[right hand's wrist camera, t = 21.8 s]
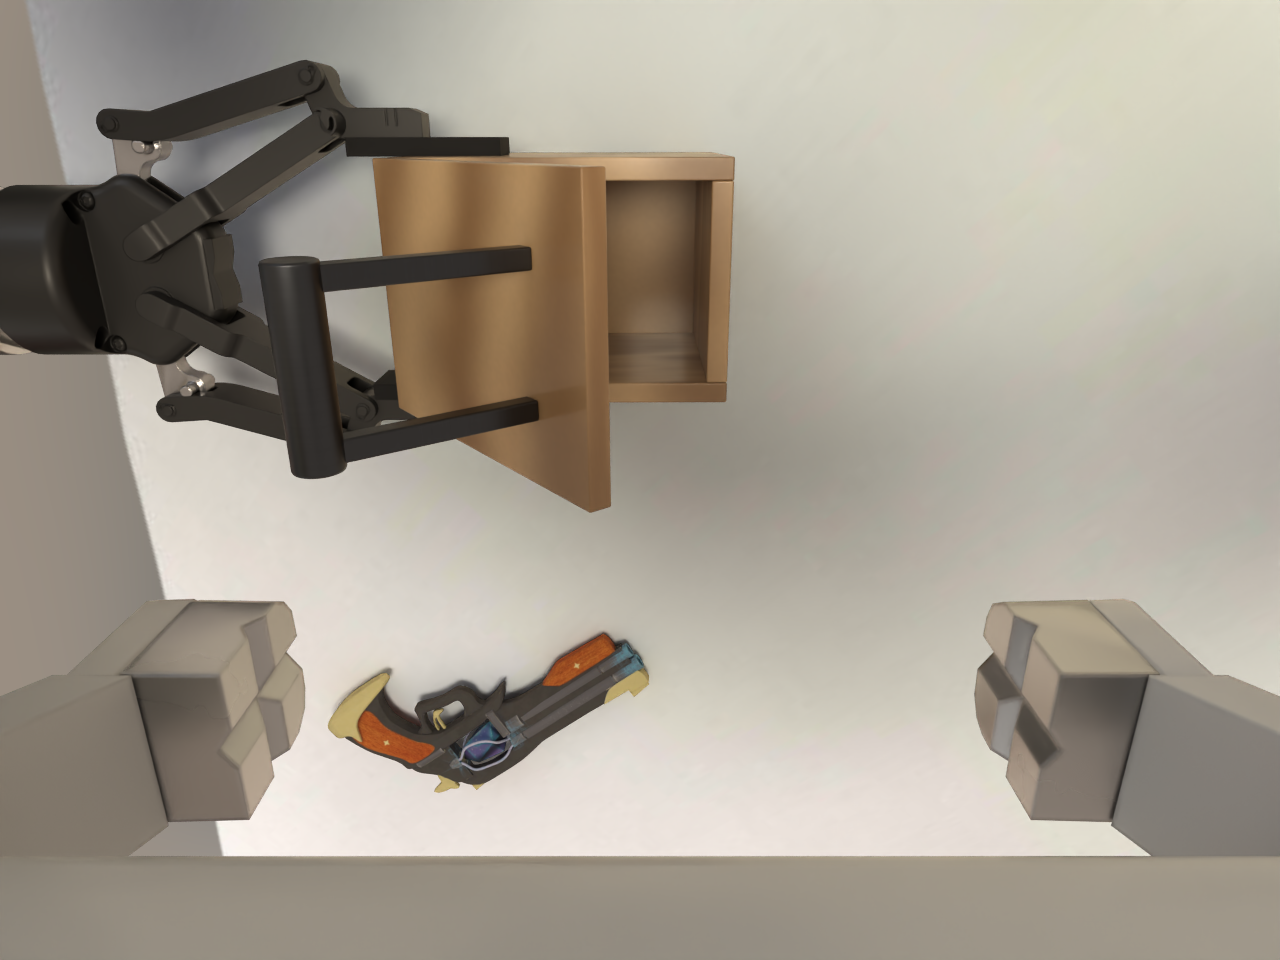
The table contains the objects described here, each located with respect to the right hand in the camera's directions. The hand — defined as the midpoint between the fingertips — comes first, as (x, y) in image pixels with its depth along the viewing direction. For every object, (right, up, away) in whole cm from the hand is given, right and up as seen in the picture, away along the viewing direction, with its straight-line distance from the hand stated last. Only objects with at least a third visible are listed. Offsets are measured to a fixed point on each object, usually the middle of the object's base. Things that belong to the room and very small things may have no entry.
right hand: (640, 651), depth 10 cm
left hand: (-6, +12, +30) cm, 32 cm away
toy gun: (-10, -11, +46) cm, 48 cm away
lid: (-5, +8, +20) cm, 22 cm away
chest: (-3, +14, +36) cm, 39 cm away
